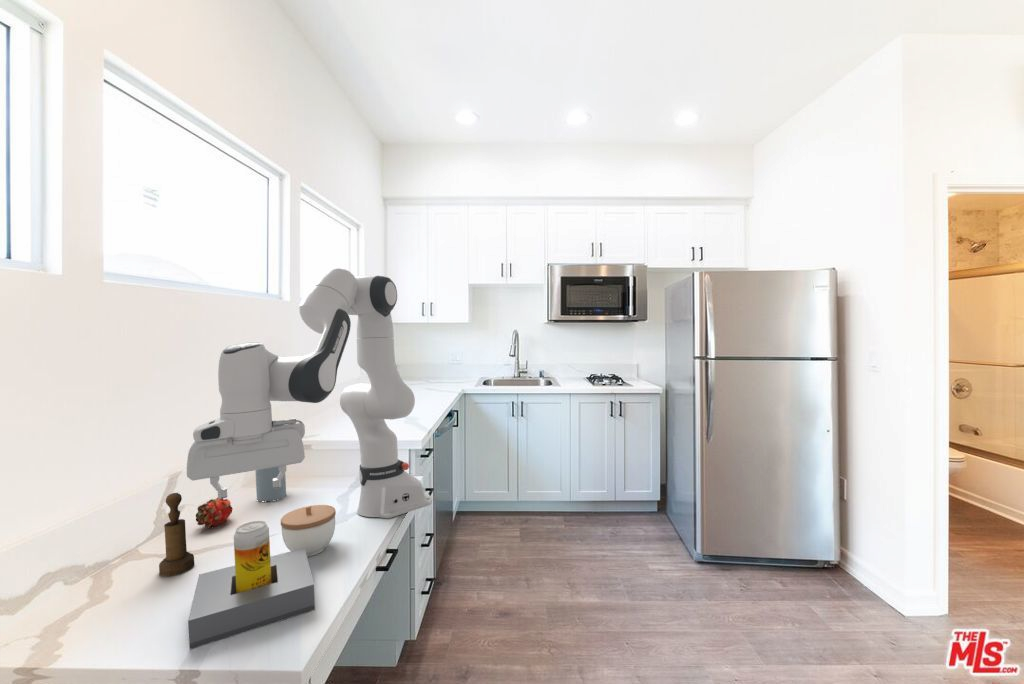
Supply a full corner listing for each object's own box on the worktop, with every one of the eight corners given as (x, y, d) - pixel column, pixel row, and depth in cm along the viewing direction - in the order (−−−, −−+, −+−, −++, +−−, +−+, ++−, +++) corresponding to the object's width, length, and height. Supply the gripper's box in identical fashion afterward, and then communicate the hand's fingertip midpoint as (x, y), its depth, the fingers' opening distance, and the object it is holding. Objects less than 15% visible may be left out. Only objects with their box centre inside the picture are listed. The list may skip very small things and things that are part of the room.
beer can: (257, 611, 85) (253, 533, 85) (229, 609, 86) (225, 532, 86) (278, 592, 91) (275, 520, 91) (252, 591, 92) (249, 519, 92)
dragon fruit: (199, 540, 123) (223, 528, 135) (225, 520, 125) (247, 510, 137) (181, 516, 124) (207, 506, 136) (207, 496, 125) (231, 487, 137)
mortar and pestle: (156, 579, 100) (152, 500, 100) (162, 567, 106) (159, 492, 106) (191, 571, 104) (188, 494, 103) (196, 559, 109) (192, 486, 109)
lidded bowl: (284, 545, 115) (282, 502, 115) (336, 534, 120) (334, 494, 120) (280, 567, 104) (277, 520, 104) (338, 555, 109) (335, 510, 109)
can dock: (305, 569, 102) (304, 548, 102) (315, 609, 87) (313, 584, 87) (200, 598, 92) (199, 574, 92) (189, 649, 77) (187, 620, 77)
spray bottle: (251, 499, 151) (248, 425, 150) (278, 491, 158) (275, 421, 158) (264, 504, 145) (261, 428, 145) (291, 495, 153) (288, 423, 152)
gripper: (302, 415, 97) (305, 478, 97) (187, 428, 87) (191, 498, 87) (305, 419, 91) (308, 486, 92) (182, 434, 81) (187, 509, 81)
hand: (250, 492), depth 89 cm, fingers open, 8 cm apart
